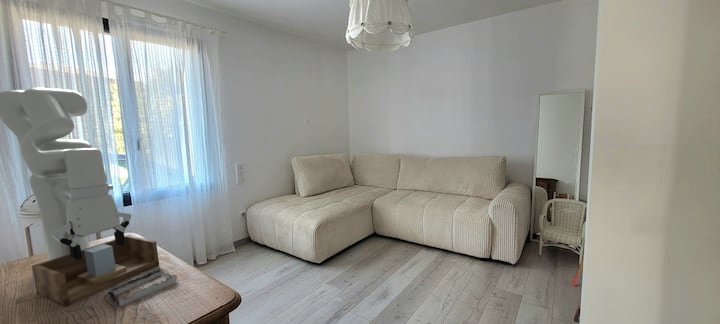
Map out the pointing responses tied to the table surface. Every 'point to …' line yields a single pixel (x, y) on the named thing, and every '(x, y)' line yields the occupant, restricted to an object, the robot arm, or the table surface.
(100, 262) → the block
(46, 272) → the crate
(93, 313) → the table surface
